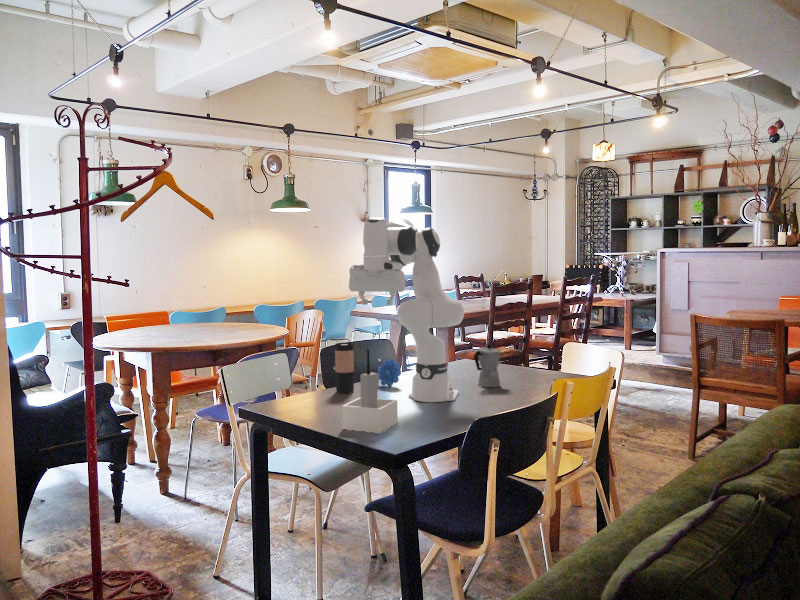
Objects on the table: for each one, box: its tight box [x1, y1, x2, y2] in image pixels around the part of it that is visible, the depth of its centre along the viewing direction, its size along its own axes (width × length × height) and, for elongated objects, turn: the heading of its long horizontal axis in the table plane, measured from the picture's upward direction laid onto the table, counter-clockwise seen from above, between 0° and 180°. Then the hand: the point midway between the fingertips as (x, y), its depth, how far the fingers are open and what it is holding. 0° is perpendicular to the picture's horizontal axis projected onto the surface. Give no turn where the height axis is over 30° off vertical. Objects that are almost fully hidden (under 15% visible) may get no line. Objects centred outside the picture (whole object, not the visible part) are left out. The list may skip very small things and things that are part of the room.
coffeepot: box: [473, 343, 501, 388], centre depth 276 cm, size 15×9×18 cm, turn 129°
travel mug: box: [334, 342, 355, 394], centre depth 268 cm, size 8×8×20 cm
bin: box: [341, 396, 398, 434], centre depth 214 cm, size 14×14×8 cm
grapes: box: [377, 358, 402, 387], centre depth 279 cm, size 12×7×12 cm, turn 61°
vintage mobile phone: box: [360, 348, 380, 408], centre depth 213 cm, size 4×5×25 cm
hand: (377, 304), depth 225 cm, fingers open, 8 cm apart
